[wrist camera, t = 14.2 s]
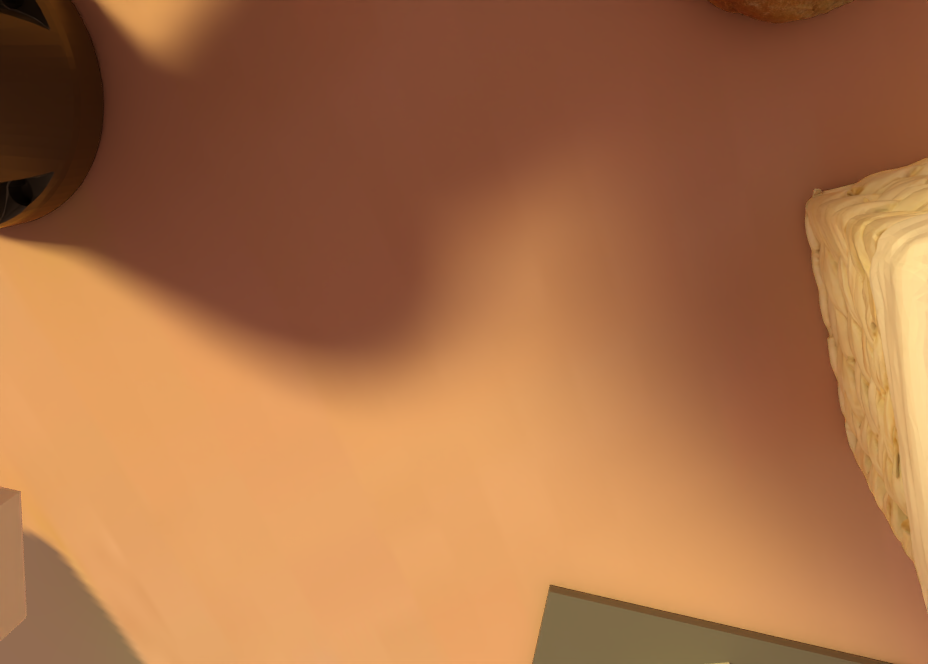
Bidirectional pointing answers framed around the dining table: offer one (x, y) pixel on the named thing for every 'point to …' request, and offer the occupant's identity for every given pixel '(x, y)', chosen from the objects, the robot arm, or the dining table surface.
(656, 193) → the dining table surface
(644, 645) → the mat
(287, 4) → the dining table surface
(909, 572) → the dining table surface
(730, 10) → the bread roll
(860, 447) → the storage basket
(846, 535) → the dining table surface
